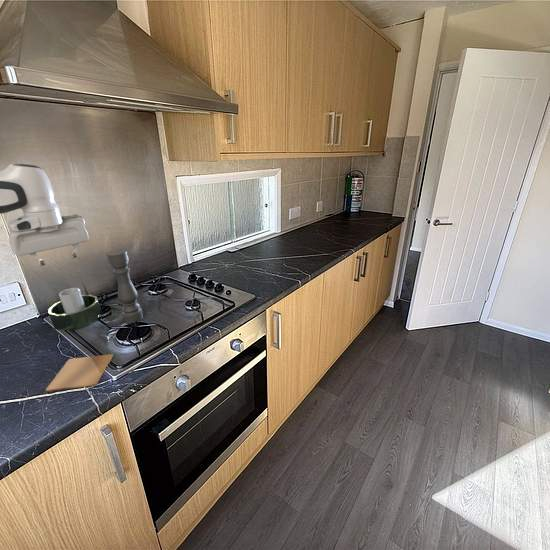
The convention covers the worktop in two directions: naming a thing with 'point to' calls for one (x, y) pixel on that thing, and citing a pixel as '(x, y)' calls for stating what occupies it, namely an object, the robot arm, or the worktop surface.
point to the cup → (72, 300)
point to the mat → (80, 372)
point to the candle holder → (125, 286)
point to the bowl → (75, 314)
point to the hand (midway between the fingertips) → (59, 261)
